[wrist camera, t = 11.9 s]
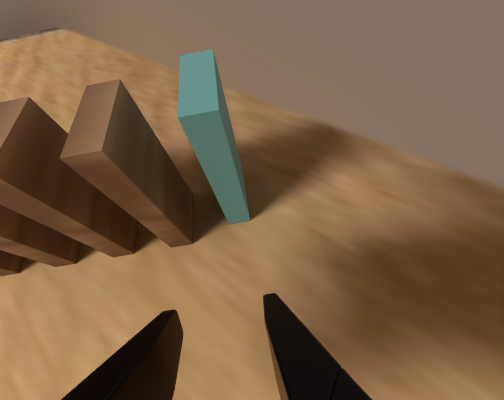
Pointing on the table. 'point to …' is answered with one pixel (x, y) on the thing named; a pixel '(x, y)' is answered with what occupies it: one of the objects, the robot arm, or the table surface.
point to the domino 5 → (212, 132)
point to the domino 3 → (35, 240)
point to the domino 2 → (55, 183)
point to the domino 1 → (10, 263)
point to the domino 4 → (129, 162)
